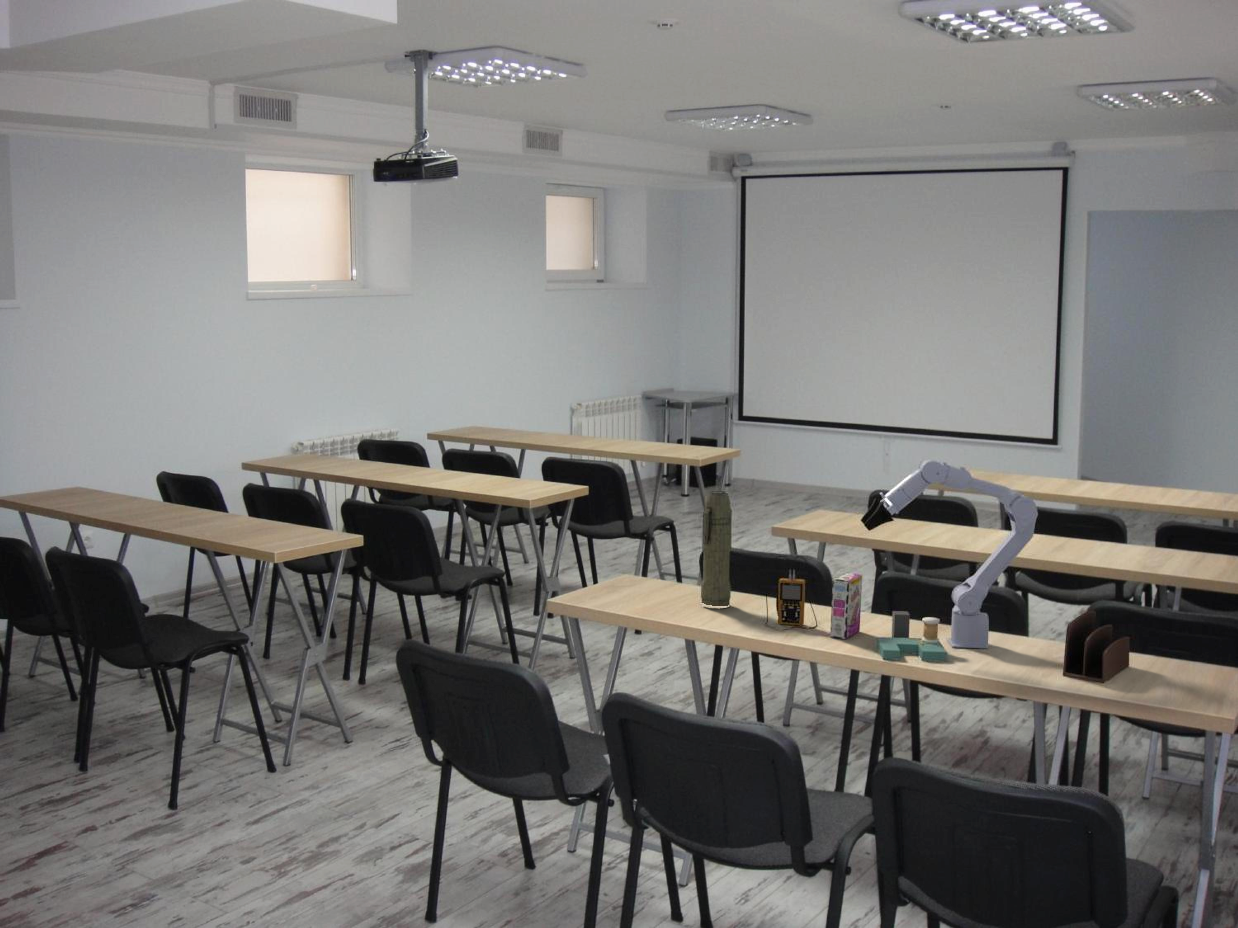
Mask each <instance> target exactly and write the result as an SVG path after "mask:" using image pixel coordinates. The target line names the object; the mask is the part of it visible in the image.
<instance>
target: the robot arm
mask: <svg viewBox="0 0 1238 928" xmlns="http://www.w3.org/2000/svg"><path fill="white" fill-rule="evenodd" d="M934 484H938V485H940V486H943V487H946V488H949V489H952V490H956V491H958V492H965V491H966V490H969V489H970V490H973V491H977V492H978V493H982V494H985V495H988V496H991V497H994V498H996V499H997V500H998V501H999V502H1000V503H1001V504H1003V506H1004V509H1005V512H1006V514H1007V516H1008V517H1009V520H1010V526H1011V532H1010V533H1009V534H1007V536H1006V537H1005V538H1004V540H1002V542H1000V544H999V545H998V546H997V547H996V549H994V551H993V552H992V553H991V555H989V556H988V558H987V559H986V561H985V562H984V563H983V564H982V565H981V566H979V567H980V568H978V569H977V570H976V572H975V573H974V574H973V575H972V576H970V577H968V578H966V579H965V581H964V582H963V583H961V584H959V585H956V586H955V587H954V588H953V590H952V592H951V600H952V602H953V603H954V607H952V610H951V627H950V628H951V630H950V631H951V632H950V633H951V634H950V638H949V637H947V638H946V640H947V642H948V643H949V644H950V647H952V648H964V649H965V648H968V649H989V629H990V625H989V624H990V622H989V620H990V619H989V615H988V613H987V612H981V608H982V605H983V602H984V600H985V598H987V596H988V592H989V590H990V587H991V586H992V585H993V584H994V583H995V582H996V581H997V579H998V578H999V577H1000V576H1001V575H1002V573H1003V572H1004V571H1005V570H1006V569H1007V568H1008V567H1009V565H1010V564H1011V563H1012V562H1013V561H1014V560H1015V558H1016V557H1017V556H1018V555H1019V554H1020V553H1021V552H1022V550H1023V549H1024V548H1025V546H1026V545H1028V543H1029V542H1030V541H1031V540H1032V539H1033V537H1034V533H1035V526H1036V521H1037V518H1038V515H1039V512H1038V509H1037V504H1036V502H1035V501H1034V499H1032V498H1030V497H1028V496H1026V495H1025V494H1023V493H1022V492H1018V491H1016V490H1014V489H1012V488H1010V487H1008V486H1005V485H1003V484H999V483H994V482H991V481H987V480H984V479H980V478H976V477H973V476H972V475H971V473H970V471H969V470H966V467H964V466H959V467H957V466H953V465H949V464H948V463H947V462H945V461H942V462H939V461H936V460H934V459H925V460H924V461H923V460H922V461H920V463H919V464H918V467H917V469H915V470H914V471H913V472H911V473H910V474H909V475H907V476H906V477H905V478H903V480H901V481H900V482H899V483H898V484H897V485H895V486H893V488H892V489H890V490H889V491H888V492H887V493H886V494H884V493H883V492H882V491H881V492H879V495H880V496H881V498H882V499H881V500H880V502H879V501H878V500H877V499H876V498H874V499H873V502H872V504H871V505H870V507H869V509H868V510H867V511H866V512H865V513H864V515H862V517H861V519H860V522H861V523H862V524H863V526H864V527H865V528H866V529H867V530H868V532H870V531H872V530H874V529H876V528H878V527H879V526H882V525H884V524H886V523H891V522H894V521H895V519H894V518H893V517H892V516H893V515H894V514H896V515H898V514H899V513H900V511H901V510H903V509H904V508H906V507H907V505H909V504H910V503H911V502H912V501H914V500H915V499H916V498H917V497H919V495H921V494H922V493H923V492H925V491H926V489H928V488H929V487H930V486H931V485H934Z"/></svg>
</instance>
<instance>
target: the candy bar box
mask: <svg viewBox="0 0 1238 928" xmlns="http://www.w3.org/2000/svg"><path fill="white" fill-rule="evenodd" d="M862 587H863V574H858V573H850V572H846V573H844V574H842V575H839V576H838V577H835V578H833V579H832V591H831V592H832V593H831V595H832V596H831V610H830V611H831V612H830V613H831V614H830V615H831V616H830V631H829V632H830V633H829V634H830V635H829V637H830V638H833V639H839V640H847V639H849V638H850V637H852V636H854V635H856V634H858V633H859V632H860V630H861V612H862V611H861V610H862V609H861V607H862V591H863V588H862Z"/></svg>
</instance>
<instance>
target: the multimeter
mask: <svg viewBox="0 0 1238 928" xmlns="http://www.w3.org/2000/svg"><path fill="white" fill-rule="evenodd" d="M782 557H784V558H786V559H787V560H788V561H789V575H788V578H783V577H782V578H779V580H778V585H777V589H776V597H775V598H776V601H775V602H776V603H775V606H776V614H777V624H778V625H779V624H782V625H787V626H789V627H783V628H780V627H776V625H775V626H774V625H772V624H771V625H770V624H768V622H769V610H768V609H769V608H768V589H767V588H768V580H769V575H770V572H771V568H772V566H773V563H774V561H775V560H776V559H777V558H782ZM797 558H802V560H804V562H805V563H806V565H807V568H808V575H811V574H810V566H809V563H808V561H807V560H806V559H805V557H803V556H801V555H797V556H796V557H795V558H794V561H793V571H792V562H791V560H790V559H789V557H787V556H785V555H778V556H775V558H774V559H773V560H772V562H771V564H770V566H769V569H768V572H767V576H766V583H765V600H766V601H765V603H766V622H765V624H766V625H767V627H768V628H772V627H773V628H772V629H778V630H779V631H782V630H783V631H785V630H790V629H792V628H793V629H794V628H798V629H805V627H803V625H804V624H805V607H806V606H805V603H806V595H807V598H808V601H809V604H810V607H811V610H812V613H813V616H814V618H815V623H816V625H815V626H813V627H810V629H815V628H817V627H818V622H817V617H816V614H815V611H814V608H813V605H812V602H811V599H810V596H809V592H808V591H809V584H810V576H808V579H807V587H806V580H805V579H802V578H799V579H798V578H796V574H795V573H796V570H795V567H796V566H795V565H796V561H797V560H796V559H797ZM792 572H793V574H792ZM765 624H764V625H765ZM790 626H791V627H790Z"/></svg>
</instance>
